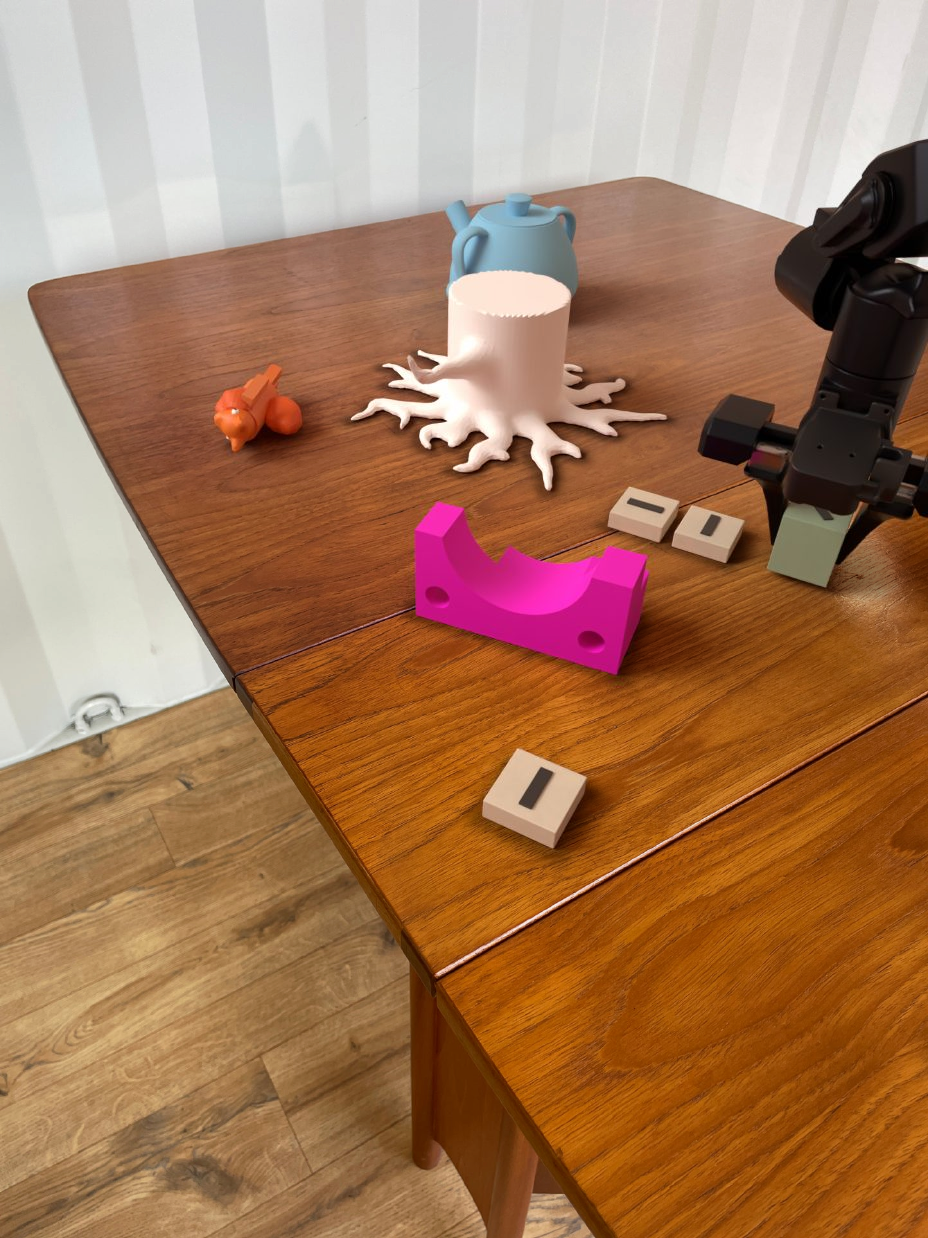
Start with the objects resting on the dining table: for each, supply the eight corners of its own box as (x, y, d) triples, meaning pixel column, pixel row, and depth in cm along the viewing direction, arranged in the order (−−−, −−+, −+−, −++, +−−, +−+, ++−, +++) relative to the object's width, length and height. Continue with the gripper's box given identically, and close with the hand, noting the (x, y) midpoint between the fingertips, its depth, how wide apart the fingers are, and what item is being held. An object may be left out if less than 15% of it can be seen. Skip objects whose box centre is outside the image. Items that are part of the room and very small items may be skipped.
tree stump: (511, 515, 74) (520, 389, 67) (297, 402, 89) (285, 288, 81) (688, 406, 90) (711, 294, 83) (482, 325, 104) (487, 223, 97)
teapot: (490, 347, 100) (496, 229, 91) (387, 292, 111) (384, 183, 103) (613, 307, 109) (628, 197, 101) (507, 260, 121) (512, 158, 113)
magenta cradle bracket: (639, 620, 65) (656, 535, 60) (616, 674, 60) (632, 588, 55) (450, 567, 69) (451, 484, 64) (415, 614, 64) (414, 529, 60)
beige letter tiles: (741, 535, 73) (745, 518, 72) (725, 564, 70) (730, 547, 69) (626, 500, 77) (629, 484, 76) (607, 526, 74) (610, 510, 73)
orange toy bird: (252, 343, 85) (204, 401, 76) (326, 374, 86) (287, 434, 77) (243, 388, 88) (195, 448, 79) (314, 417, 89) (275, 480, 80)
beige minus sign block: (584, 793, 53) (587, 775, 52) (553, 849, 50) (556, 831, 49) (516, 763, 54) (517, 745, 53) (481, 816, 51) (483, 798, 50)
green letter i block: (837, 557, 70) (857, 502, 67) (825, 587, 67) (846, 532, 64) (780, 540, 72) (797, 485, 68) (766, 569, 69) (783, 513, 65)
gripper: (696, 374, 56) (655, 570, 67) (1019, 452, 50) (919, 656, 60) (743, 315, 64) (700, 499, 74) (1029, 376, 57) (938, 569, 68)
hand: (805, 552), depth 69 cm, fingers closed on green letter i block, 4 cm apart
